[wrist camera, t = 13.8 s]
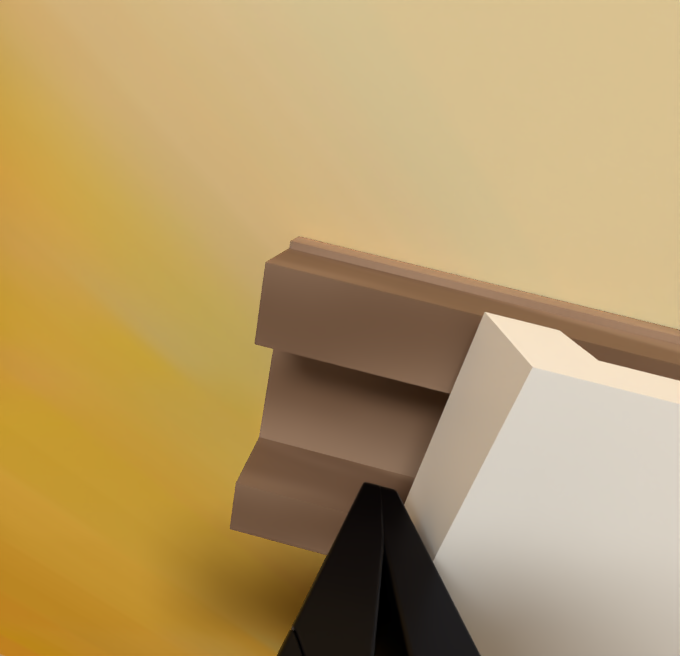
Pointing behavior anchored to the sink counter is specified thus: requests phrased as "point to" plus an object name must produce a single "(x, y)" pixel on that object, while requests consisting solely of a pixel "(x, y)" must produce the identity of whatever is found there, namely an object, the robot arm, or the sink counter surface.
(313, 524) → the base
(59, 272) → the sink counter surface
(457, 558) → the sliding cap
